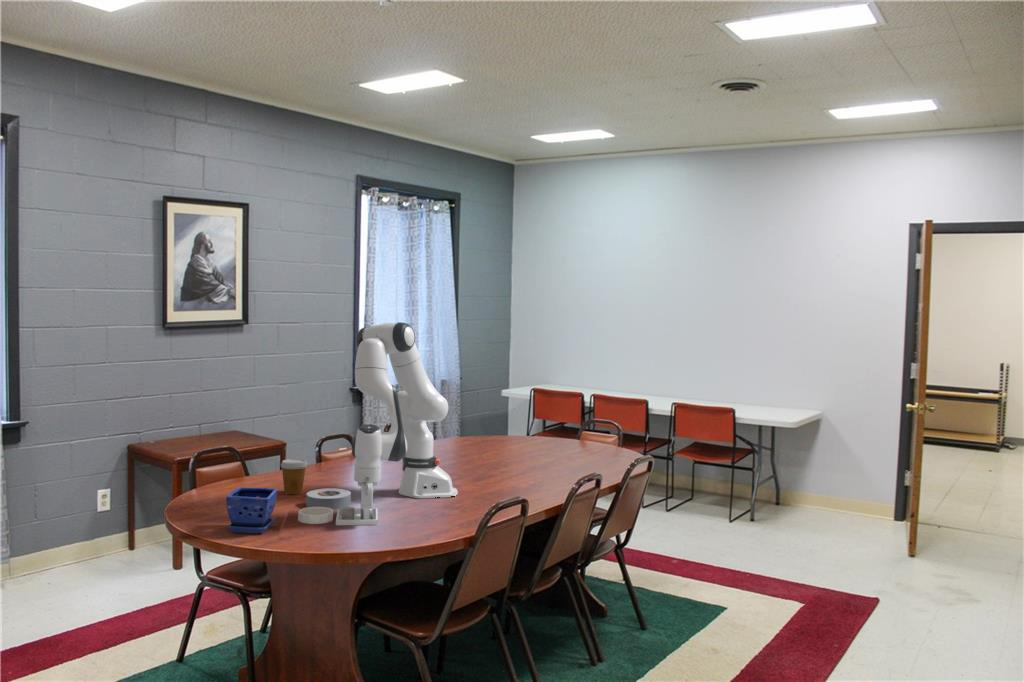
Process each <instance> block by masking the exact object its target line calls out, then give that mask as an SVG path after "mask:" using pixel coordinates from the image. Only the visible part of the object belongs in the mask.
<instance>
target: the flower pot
mask: <svg viewBox="0 0 1024 682" xmlns="http://www.w3.org/2000/svg"><path fill="white" fill-rule="evenodd" d="M277 496H278V489H277V488H271V487H247V486H246V487H244V486H239V487H237V488H235V489H234V490H232V491H231V492H229V494H228V495H226V498H225V499H226V510H227V516H228V518H229V520H230V523H231V524H229V526H228V529H229V530H230V531H231V532H232V533H238V534H239V533H241V534H243V533H244V534H259V533H261V534H263V533H264V532H265V531H267V530H268V528H270V527H271V526H272V525H273V523H274V521H275V518H271V516H272V514H273V512H274V509H275V507H276V503H277V498H278V497H277Z"/></svg>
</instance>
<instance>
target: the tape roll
mask: <svg viewBox="0 0 1024 682" xmlns="http://www.w3.org/2000/svg"><path fill="white" fill-rule="evenodd" d="M305 503H306V504H305V505H306V508H307V507H327V508H331V509H333V511H334V510H335V511H336V510H338V509H342V508H344V507H351V505H352V492H351V491H350V490H347V489H345V488H344V489H343V488H338V487H337V488H336V487H335V488H334V487H333V488H332V487H327V488H319V489H318V488H317V489H313V490H310V491H308V492H306V496H305Z"/></svg>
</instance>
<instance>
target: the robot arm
mask: <svg viewBox="0 0 1024 682" xmlns="http://www.w3.org/2000/svg"><path fill="white" fill-rule="evenodd" d="M355 343H356V348H357V350H356V356H355V364H354V365H355V367H354V379H355V386H356V388H357V389H358V390H359V391H360V392H361V393H363V394H364V395H366V396H367V397H370V398H372V399H376V400H377V401H380V402H382V403H383V404H385V406H386V407H387V408H388V414H389V420H390V427H391V430H390V431H381V427H380V426H378V425H374V424H363V425H359V426H358V428H357V431H356V434H355V435H354V436H353V437H352V438H351V455H352V456H353V457H354V458H355V462H354V464H353V465H354V466H353V467H354V469H353V470H354V471H353V481H355V482H357V486H359V487H360V490H361V491H360V493H361V495H360V509H363V511H364V519H369V512H370V509H372V508H373V500H374V499H373V495H374V489H375V487H376V486H377V485H378V483H379V482H380V481H382V461H388V462H397V463H398V462H400V461H402V462H401V464H402V465H401V469H402V476H401V480H400V481H401V482H400V484H399V485H400V486H399V490H398V494H399V495H402V496H406V497H411V498H412V499H436V498H437V497H440V498H452V497H451V496H455V497H457V496H458V495H459V491H458V489H457V488H456V487H455V486H453V482H452V478H451V476H450V475H449V473H447V472H446V471H445V470H443V469H442V468H441V467H440V466H439V465H440V464H441V461H440V459H439V458H438V457H436V456H435V455H434V434H433V433H432V432H431V430H429V428H428V424H427V423H435V422H442V421H443V420H445V419H446V417H447V415H448V413H449V402H448V401H447V399H446V398H445V397H444V396H443V395H442V394H440V392H439V391H438V390H437V389H436V388H435V386H434V385H433V383H432V382H431V380H430V378H429V376H428V375H427V373H426V370H425V366H424V364H423V361H422V358H421V354H420V351H419V350H418V346H417V345H416V334H415V330H414V328H413V327H412V326H411V325H410V324H409V323H407V322H399V321H398V322H385V323H381V324H375V325H369V326H364V327H362V328H360V329H359V330H358V332H357V334H356V336H355ZM387 355H388V356H389V357H387ZM388 358H389V361H390V364H391V368H392V370H393V374H394V377H395V380H396V382H397V384H398V386H399V387H401V388H402V389H403V390H399V391H398V389H397V388H396V386H395V385H394V384H392V383H391V381H390V379H389V376H388ZM457 494H458V495H457ZM456 495H457V496H456ZM435 497H436V498H435Z"/></svg>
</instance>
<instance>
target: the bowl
mask: <svg viewBox="0 0 1024 682" xmlns="http://www.w3.org/2000/svg"><path fill="white" fill-rule="evenodd" d="M333 520H334V510H333V509H331V508H327V507H307V506H306V507H303V508H300V509H299V510H298V513H297V521H298V522H300V523H302V524H308V525H320V524H327V523H330V522H333Z"/></svg>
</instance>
